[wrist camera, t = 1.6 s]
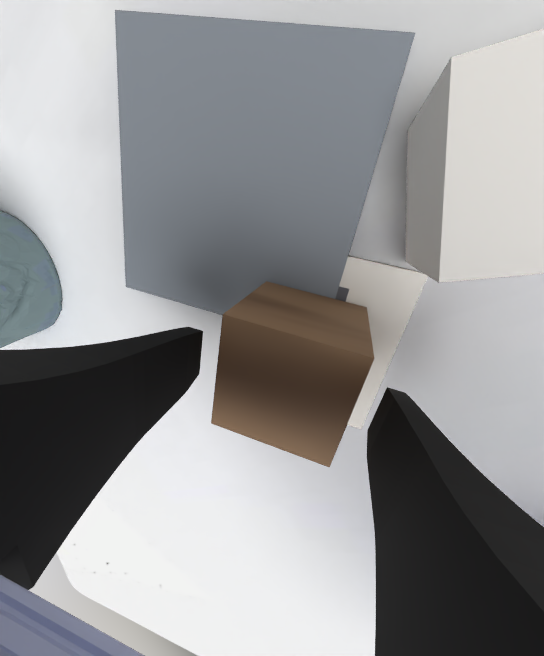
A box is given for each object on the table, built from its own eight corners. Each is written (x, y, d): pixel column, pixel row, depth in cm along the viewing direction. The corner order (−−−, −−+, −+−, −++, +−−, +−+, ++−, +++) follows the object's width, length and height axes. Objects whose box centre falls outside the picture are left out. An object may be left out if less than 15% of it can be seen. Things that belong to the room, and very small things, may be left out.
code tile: (361, 424, 15) (361, 429, 15) (220, 377, 17) (217, 380, 17) (426, 273, 12) (428, 275, 11) (239, 231, 13) (236, 231, 13)
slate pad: (322, 340, 14) (321, 343, 14) (132, 285, 16) (125, 286, 16) (412, 41, 9) (415, 32, 9) (124, 18, 11) (114, 10, 11)
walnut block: (336, 390, 14) (329, 467, 10) (251, 363, 15) (211, 423, 11) (366, 307, 12) (374, 358, 8) (266, 281, 13) (222, 314, 9)
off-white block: (545, 245, 10) (695, 260, 6) (405, 261, 12) (439, 282, 7) (572, 90, 9) (808, -53, 4) (406, 131, 10) (451, 56, 6)
